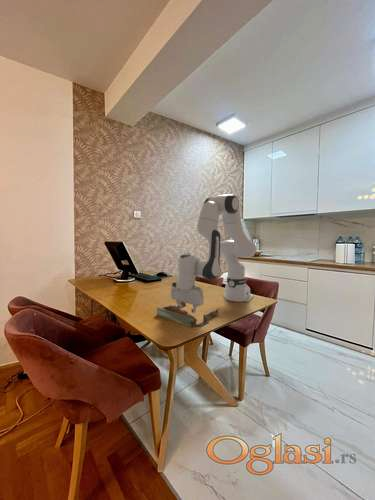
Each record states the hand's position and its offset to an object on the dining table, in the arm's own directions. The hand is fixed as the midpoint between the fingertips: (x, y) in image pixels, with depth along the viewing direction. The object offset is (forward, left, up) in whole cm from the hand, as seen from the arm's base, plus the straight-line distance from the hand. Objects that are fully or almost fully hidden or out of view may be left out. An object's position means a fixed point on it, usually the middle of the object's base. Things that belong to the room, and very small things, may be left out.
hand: (186, 310), depth 116 cm
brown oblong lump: (+3, -1, -3) cm, 4 cm away
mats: (0, -1, -3) cm, 3 cm away
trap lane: (-1, 0, -3) cm, 3 cm away
